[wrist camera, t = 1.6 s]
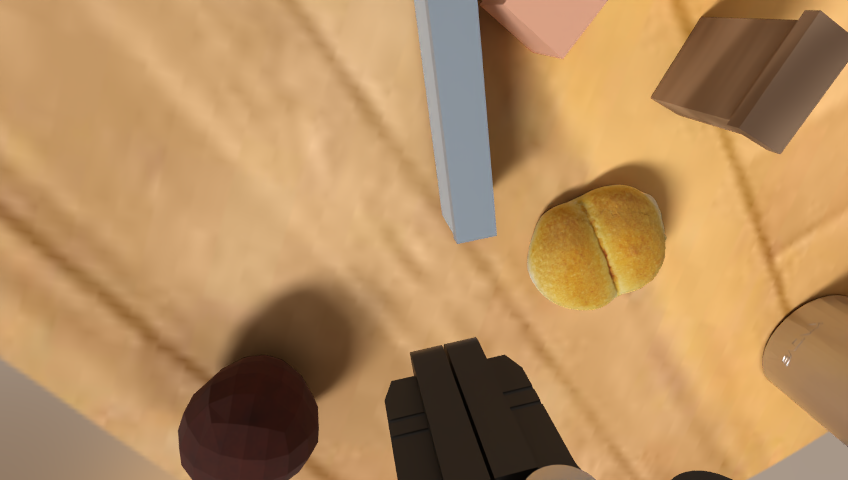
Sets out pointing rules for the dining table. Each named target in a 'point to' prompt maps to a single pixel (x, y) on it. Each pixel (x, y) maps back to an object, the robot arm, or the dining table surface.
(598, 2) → the block
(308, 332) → the dining table surface
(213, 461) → the dark maroon ball
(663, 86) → the stepped wooden slab
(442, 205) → the grey rectangular bar
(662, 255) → the bread roll
